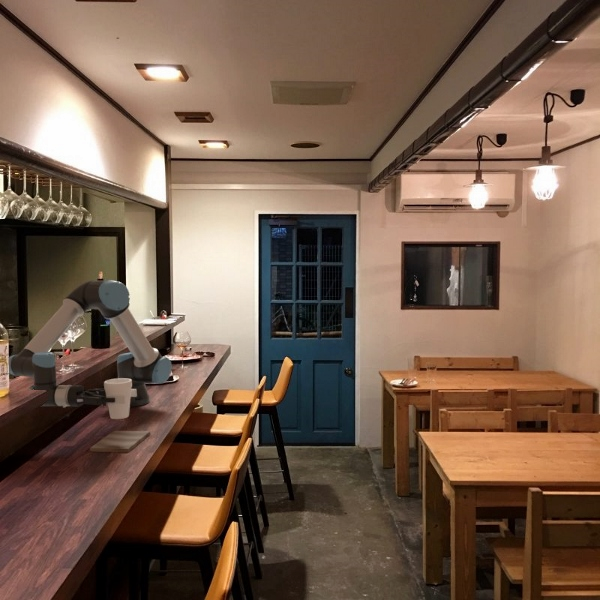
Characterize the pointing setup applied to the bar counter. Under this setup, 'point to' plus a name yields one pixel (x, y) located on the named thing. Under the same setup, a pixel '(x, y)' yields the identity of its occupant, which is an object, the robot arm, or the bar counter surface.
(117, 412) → the foam cup
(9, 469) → the bar counter surface
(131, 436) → the walnut board
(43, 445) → the bar counter surface
